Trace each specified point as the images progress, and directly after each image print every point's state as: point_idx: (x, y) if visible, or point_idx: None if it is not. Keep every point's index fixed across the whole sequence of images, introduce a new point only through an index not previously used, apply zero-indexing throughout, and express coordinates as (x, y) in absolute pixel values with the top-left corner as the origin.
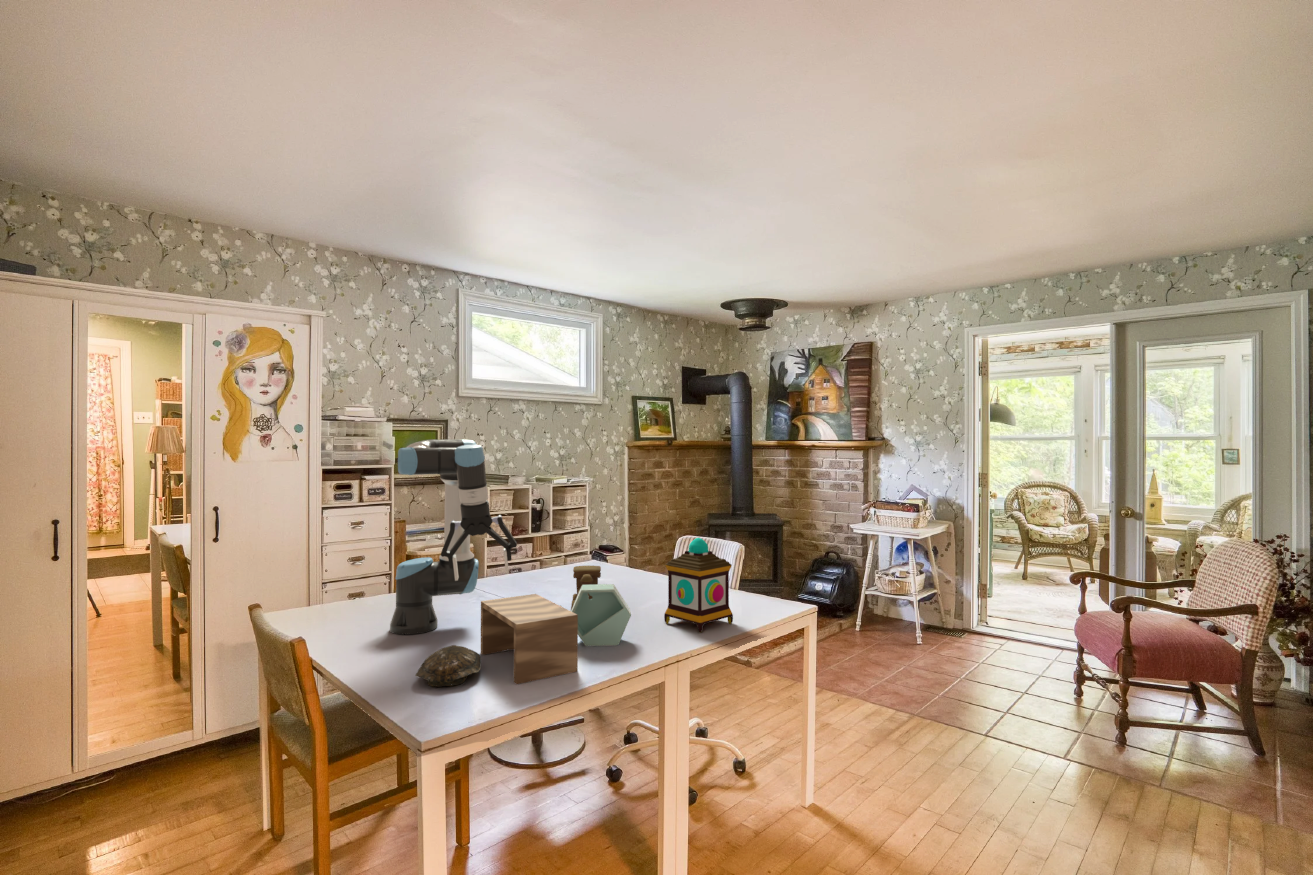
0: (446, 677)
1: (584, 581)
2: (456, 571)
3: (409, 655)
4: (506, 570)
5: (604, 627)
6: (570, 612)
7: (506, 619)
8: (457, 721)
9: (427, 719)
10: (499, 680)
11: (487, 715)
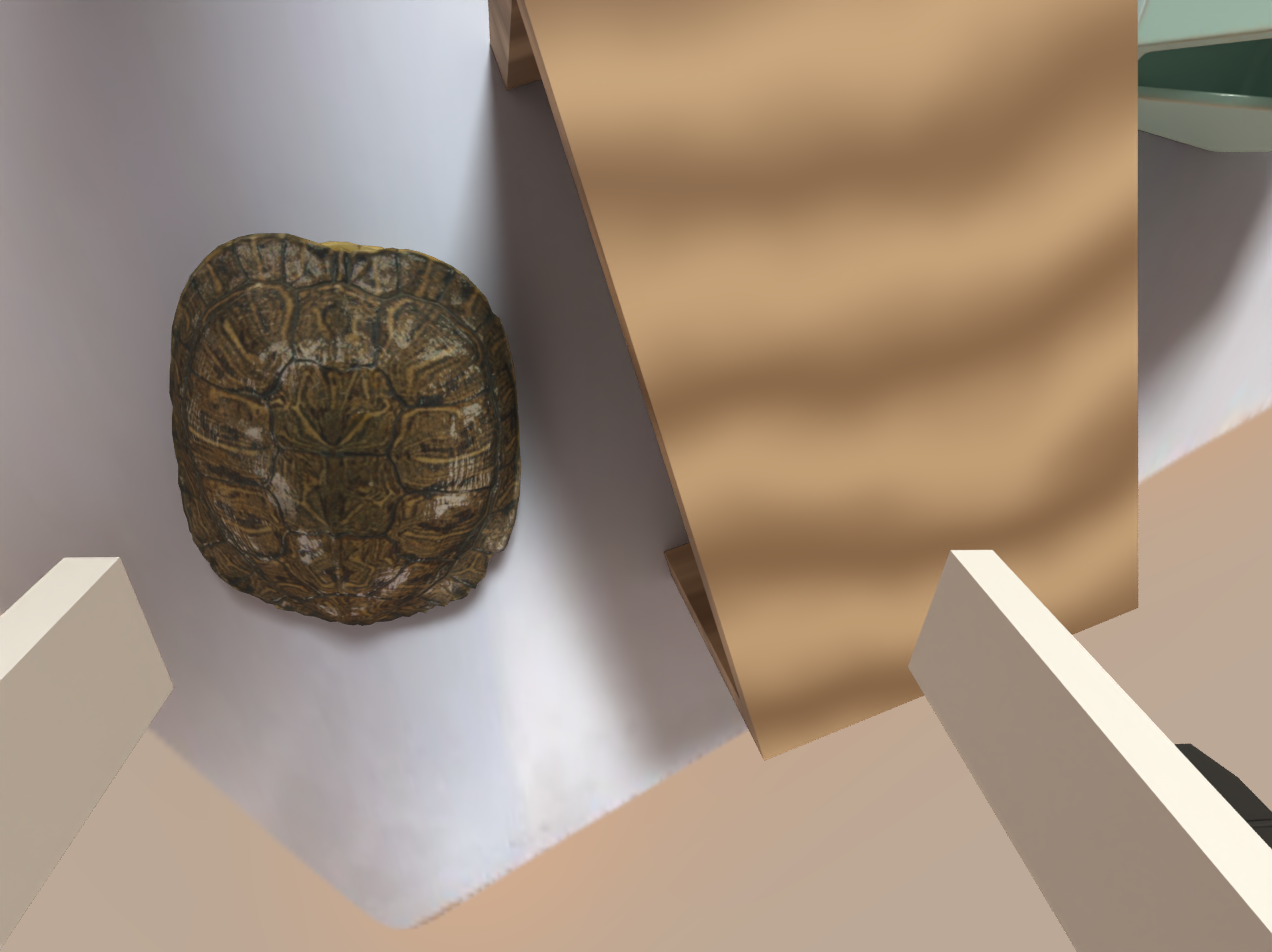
0: (372, 618)
1: None
2: (65, 839)
3: None
4: (944, 704)
5: (1262, 120)
6: (1123, 549)
7: (714, 606)
8: (474, 839)
9: (368, 823)
10: (606, 523)
11: (566, 808)
